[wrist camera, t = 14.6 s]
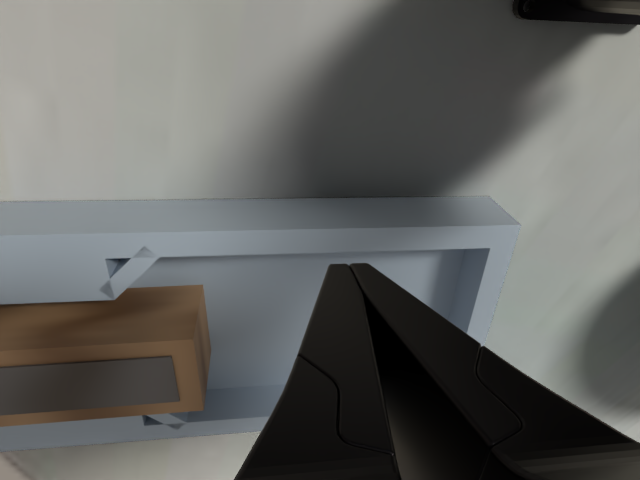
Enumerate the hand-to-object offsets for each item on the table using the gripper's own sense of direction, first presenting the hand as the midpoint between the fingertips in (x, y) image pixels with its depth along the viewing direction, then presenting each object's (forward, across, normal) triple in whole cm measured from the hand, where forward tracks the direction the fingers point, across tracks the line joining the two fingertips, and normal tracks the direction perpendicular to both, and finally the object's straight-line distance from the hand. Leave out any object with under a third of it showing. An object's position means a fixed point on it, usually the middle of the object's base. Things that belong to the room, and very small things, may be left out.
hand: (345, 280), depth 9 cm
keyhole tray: (+12, +3, +10) cm, 16 cm away
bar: (+11, +10, +10) cm, 18 cm away
